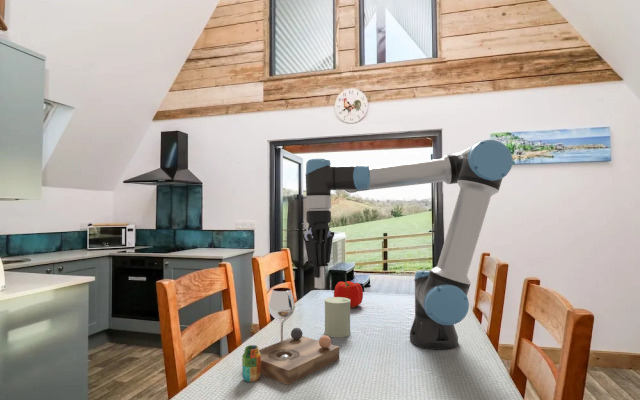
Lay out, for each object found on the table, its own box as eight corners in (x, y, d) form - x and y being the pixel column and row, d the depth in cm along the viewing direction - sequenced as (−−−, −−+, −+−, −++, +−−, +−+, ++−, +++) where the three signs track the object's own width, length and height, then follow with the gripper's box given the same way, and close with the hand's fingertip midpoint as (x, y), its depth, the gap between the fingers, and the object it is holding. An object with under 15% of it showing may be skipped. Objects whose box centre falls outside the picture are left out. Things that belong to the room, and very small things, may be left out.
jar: (261, 375, 98) (262, 343, 98) (259, 383, 93) (259, 350, 93) (243, 375, 98) (244, 344, 98) (240, 383, 93) (240, 350, 93)
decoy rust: (333, 347, 107) (333, 335, 107) (326, 351, 105) (326, 338, 105) (324, 344, 110) (324, 332, 110) (316, 348, 107) (316, 335, 107)
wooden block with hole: (339, 359, 108) (339, 346, 108) (288, 385, 92) (288, 370, 92) (298, 346, 118) (298, 334, 118) (245, 368, 102) (246, 354, 102)
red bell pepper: (329, 303, 173) (329, 280, 174) (356, 301, 177) (356, 279, 178) (339, 311, 160) (340, 286, 161) (368, 308, 164) (368, 284, 165)
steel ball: (290, 371, 101) (295, 358, 103) (283, 367, 99) (288, 353, 101) (281, 368, 104) (286, 355, 105) (273, 364, 101) (278, 351, 103)
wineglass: (270, 353, 112) (270, 292, 113) (266, 344, 120) (267, 287, 121) (297, 350, 115) (297, 291, 115) (291, 341, 123) (292, 286, 123)
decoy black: (304, 339, 114) (304, 327, 114) (297, 342, 112) (297, 330, 112) (296, 336, 117) (296, 325, 117) (288, 339, 114) (288, 328, 114)
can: (348, 338, 126) (348, 302, 126) (321, 336, 128) (322, 301, 128) (352, 329, 135) (352, 296, 135) (326, 328, 137) (326, 295, 137)
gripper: (322, 210, 122) (323, 283, 121) (295, 210, 112) (295, 290, 111) (341, 209, 117) (342, 285, 117) (314, 209, 107) (315, 293, 106)
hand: (319, 287), depth 114 cm, fingers closed
